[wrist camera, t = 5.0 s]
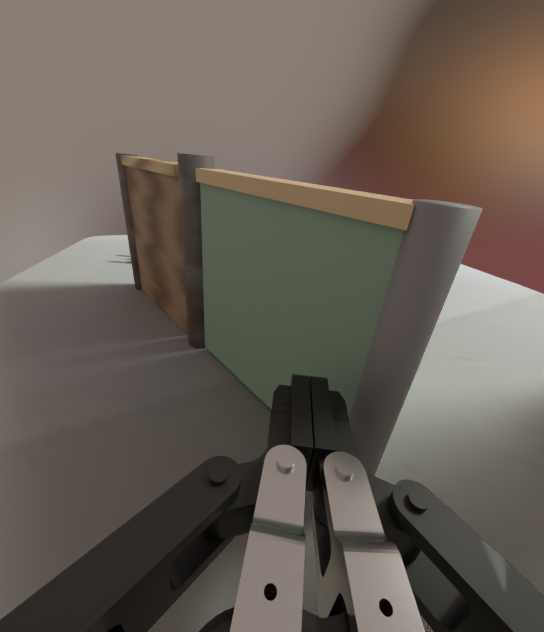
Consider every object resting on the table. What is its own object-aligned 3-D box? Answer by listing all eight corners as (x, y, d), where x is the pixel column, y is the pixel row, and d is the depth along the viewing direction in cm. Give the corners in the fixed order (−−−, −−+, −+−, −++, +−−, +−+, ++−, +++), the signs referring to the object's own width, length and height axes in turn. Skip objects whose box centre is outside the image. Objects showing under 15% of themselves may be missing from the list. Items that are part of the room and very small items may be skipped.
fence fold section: (200, 348, 25) (193, 166, 18) (220, 340, 26) (221, 167, 20) (357, 500, 15) (469, 210, 8) (378, 477, 16) (491, 208, 9)
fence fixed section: (131, 285, 36) (109, 145, 29) (150, 281, 38) (134, 148, 30) (196, 351, 25) (187, 154, 18) (220, 342, 27) (220, 157, 20)
